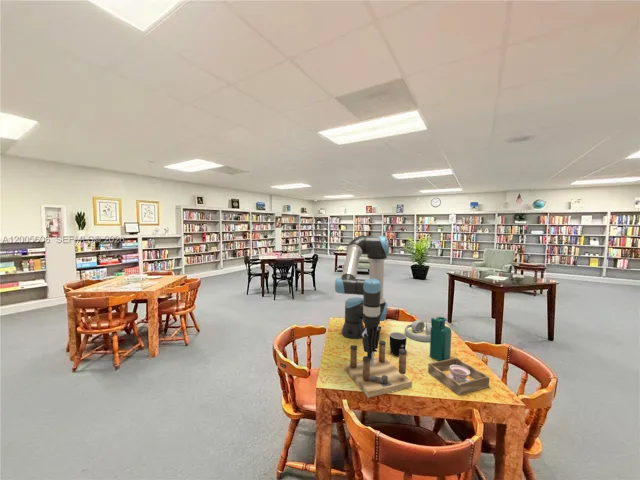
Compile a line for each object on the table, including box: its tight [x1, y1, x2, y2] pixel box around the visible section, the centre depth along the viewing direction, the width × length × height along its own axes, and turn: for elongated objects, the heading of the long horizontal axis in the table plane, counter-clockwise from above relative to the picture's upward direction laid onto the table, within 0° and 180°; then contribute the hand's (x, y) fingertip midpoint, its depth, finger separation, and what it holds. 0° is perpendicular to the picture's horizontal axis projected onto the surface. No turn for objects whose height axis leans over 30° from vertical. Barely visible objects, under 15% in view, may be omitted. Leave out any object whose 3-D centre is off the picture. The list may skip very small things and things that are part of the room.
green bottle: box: [429, 316, 452, 362], centre depth 138 cm, size 10×8×22 cm
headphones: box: [404, 319, 432, 343], centre depth 167 cm, size 18×8×20 cm
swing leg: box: [362, 355, 388, 384], centre depth 113 cm, size 11×3×10 cm, turn 75°
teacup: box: [447, 365, 471, 383], centre depth 117 cm, size 12×12×6 cm
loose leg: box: [398, 348, 408, 375], centre depth 115 cm, size 3×3×10 cm
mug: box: [389, 331, 408, 357], centre depth 144 cm, size 12×9×10 cm
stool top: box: [344, 339, 413, 399], centre depth 120 cm, size 22×22×12 cm
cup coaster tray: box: [427, 357, 490, 396], centre depth 120 cm, size 18×18×4 cm
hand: (370, 365), depth 117 cm, fingers closed
